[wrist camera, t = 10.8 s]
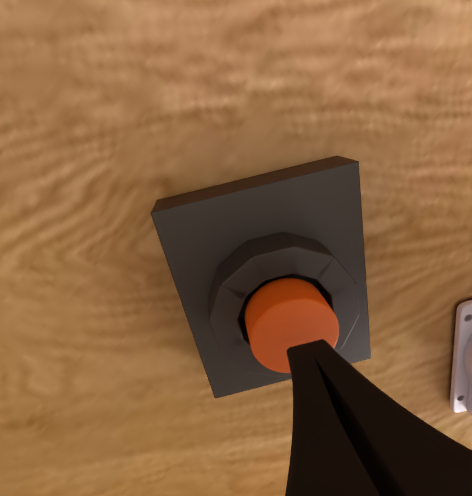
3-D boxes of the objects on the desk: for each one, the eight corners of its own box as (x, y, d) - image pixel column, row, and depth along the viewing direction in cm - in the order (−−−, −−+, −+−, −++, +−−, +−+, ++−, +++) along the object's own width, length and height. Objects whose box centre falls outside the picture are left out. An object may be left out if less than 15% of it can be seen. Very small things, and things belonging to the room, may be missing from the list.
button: (327, 334, 15) (343, 361, 13) (253, 353, 15) (260, 383, 13) (318, 268, 13) (335, 288, 12) (236, 289, 13) (241, 312, 12)
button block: (353, 333, 19) (389, 383, 16) (213, 369, 19) (216, 428, 16) (337, 155, 15) (382, 166, 11) (156, 200, 15) (143, 226, 11)
